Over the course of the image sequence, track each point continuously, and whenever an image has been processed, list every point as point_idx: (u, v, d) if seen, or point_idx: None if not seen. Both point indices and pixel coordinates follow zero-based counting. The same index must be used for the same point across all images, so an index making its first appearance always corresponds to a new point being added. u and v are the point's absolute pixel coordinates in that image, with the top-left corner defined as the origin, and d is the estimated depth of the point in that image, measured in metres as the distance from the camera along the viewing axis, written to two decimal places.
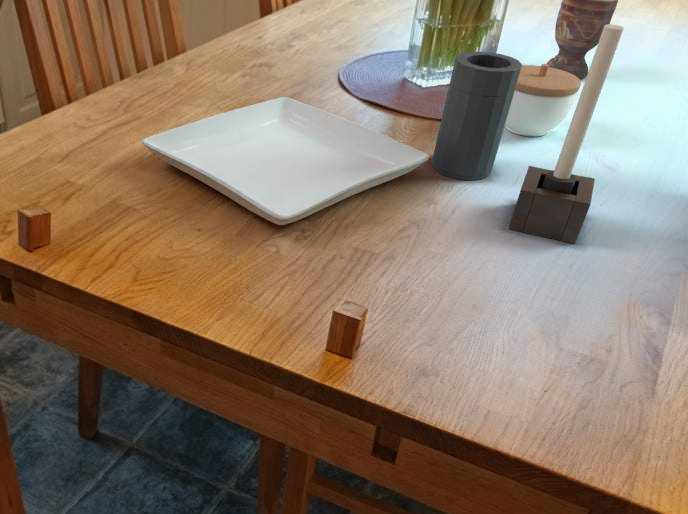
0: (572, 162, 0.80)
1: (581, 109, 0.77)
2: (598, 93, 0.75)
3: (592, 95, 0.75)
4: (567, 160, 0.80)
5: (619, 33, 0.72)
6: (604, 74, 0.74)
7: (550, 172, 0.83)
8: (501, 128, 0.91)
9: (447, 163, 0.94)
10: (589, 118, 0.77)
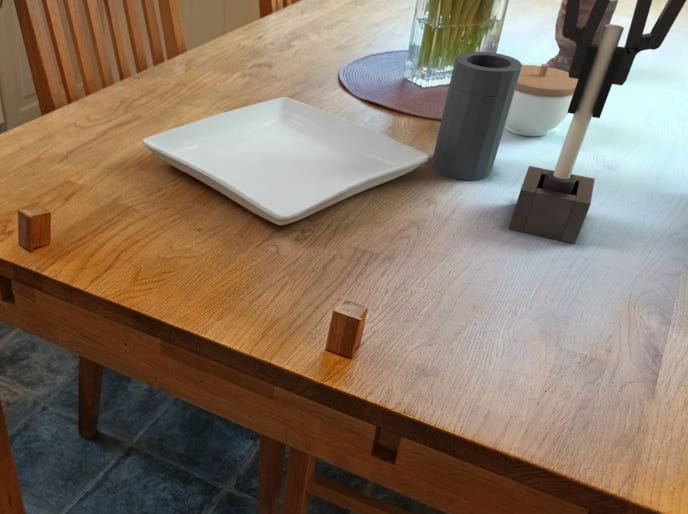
0: (572, 162, 0.80)
1: (582, 109, 0.77)
2: (598, 93, 0.75)
3: (592, 95, 0.75)
4: (567, 160, 0.80)
5: (619, 33, 0.72)
6: (604, 74, 0.74)
7: (550, 172, 0.83)
8: (501, 128, 0.91)
9: (447, 163, 0.94)
10: (589, 118, 0.77)
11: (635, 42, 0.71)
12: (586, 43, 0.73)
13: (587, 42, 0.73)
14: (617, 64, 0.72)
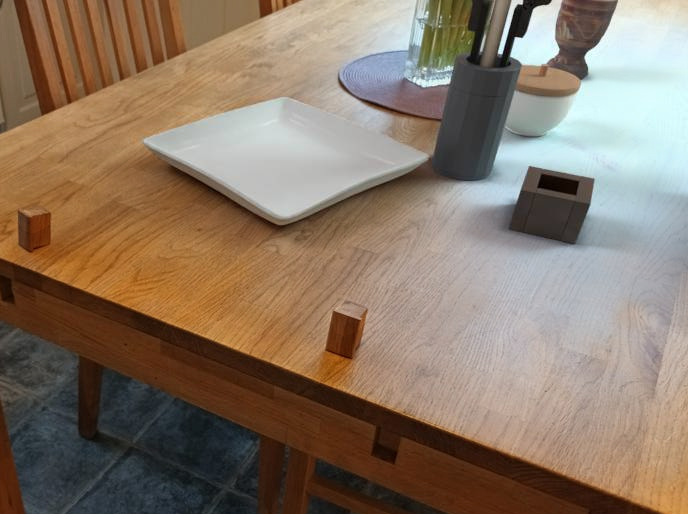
0: None
1: (485, 58, 0.88)
2: (497, 44, 0.87)
3: (493, 45, 0.87)
4: None
5: None
6: (501, 27, 0.85)
7: None
8: (501, 128, 0.91)
9: (447, 163, 0.94)
10: (492, 66, 0.88)
11: None
12: None
13: None
14: (517, 19, 0.84)
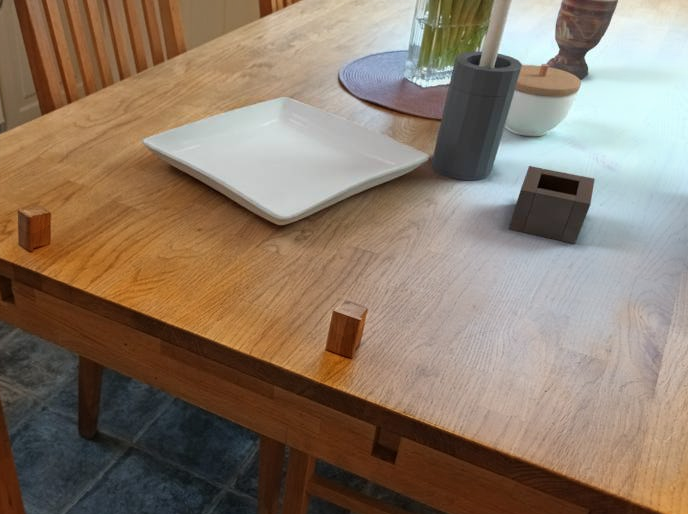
0: None
1: (485, 58, 0.88)
2: (497, 44, 0.87)
3: (493, 45, 0.87)
4: None
5: None
6: (501, 27, 0.85)
7: None
8: (501, 128, 0.91)
9: (447, 163, 0.94)
10: (492, 66, 0.88)
11: None
12: None
13: None
14: None
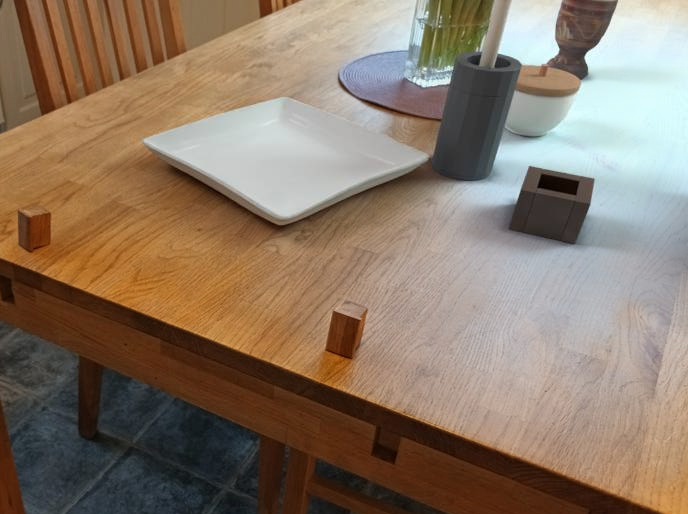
0: None
1: (485, 58, 0.88)
2: (497, 44, 0.87)
3: (493, 45, 0.87)
4: None
5: None
6: (501, 27, 0.85)
7: None
8: (501, 128, 0.91)
9: (447, 163, 0.94)
10: (492, 66, 0.88)
11: None
12: None
13: None
14: None
